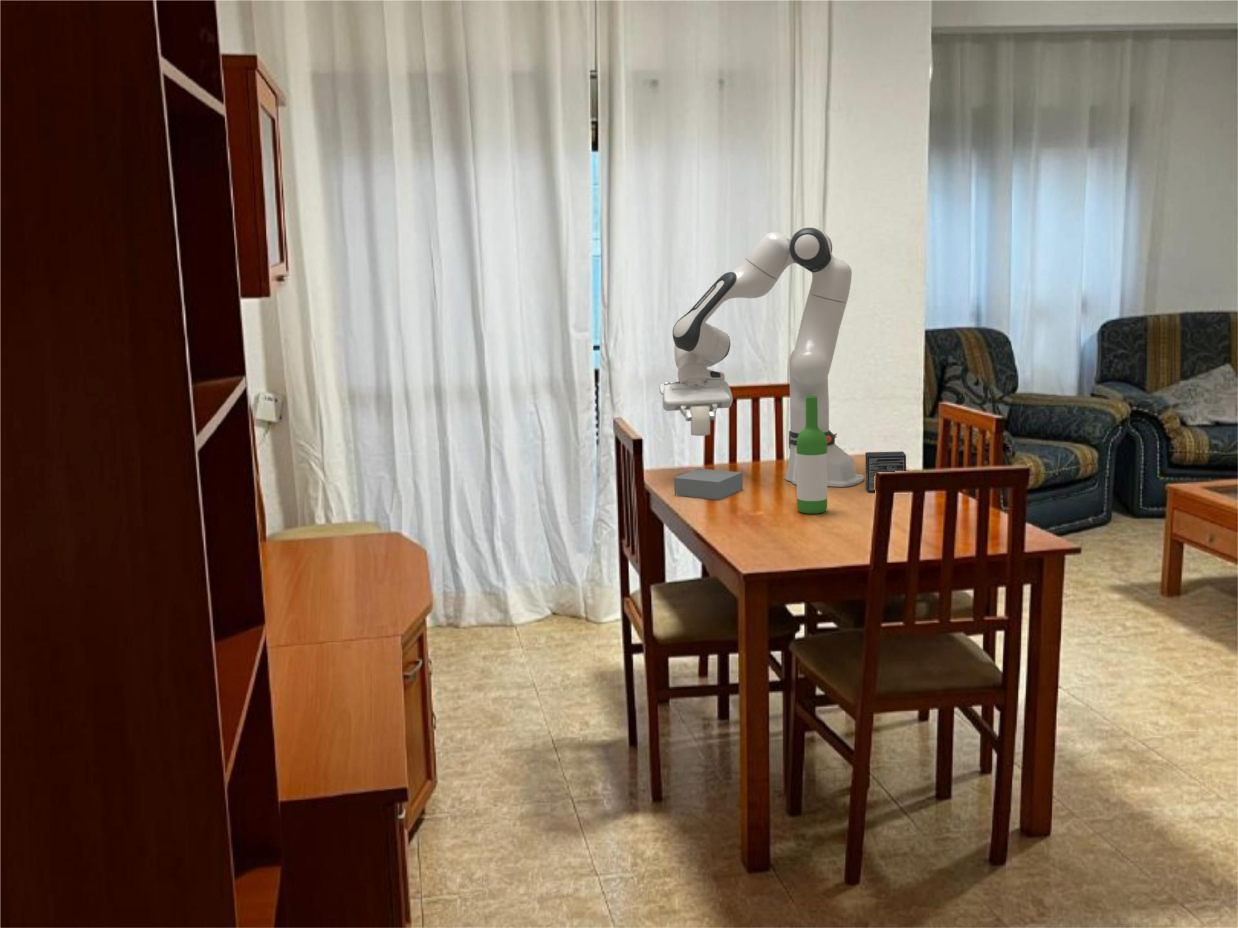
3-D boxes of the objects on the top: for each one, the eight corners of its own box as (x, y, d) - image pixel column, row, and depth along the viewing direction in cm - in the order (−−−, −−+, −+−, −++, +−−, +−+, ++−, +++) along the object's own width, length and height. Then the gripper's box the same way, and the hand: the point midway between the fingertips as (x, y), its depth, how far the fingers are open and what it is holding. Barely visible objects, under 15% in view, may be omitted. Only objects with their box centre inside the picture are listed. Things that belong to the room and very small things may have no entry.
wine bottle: (804, 516, 300) (803, 399, 294) (792, 509, 307) (791, 395, 301) (832, 513, 302) (832, 397, 296) (819, 506, 309) (819, 393, 303)
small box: (903, 487, 328) (903, 450, 326) (906, 492, 322) (907, 454, 320) (864, 488, 329) (865, 451, 327) (867, 493, 323) (867, 455, 321)
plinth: (742, 489, 332) (742, 472, 331) (718, 500, 321) (718, 482, 320) (699, 485, 340) (699, 468, 339) (674, 495, 328) (674, 477, 327)
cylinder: (713, 433, 339) (713, 405, 337) (704, 436, 334) (703, 408, 333) (697, 431, 342) (696, 404, 340) (687, 435, 337) (686, 407, 336)
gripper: (659, 376, 340) (665, 414, 333) (729, 372, 342) (736, 411, 335) (657, 389, 346) (663, 427, 338) (726, 386, 348) (733, 424, 340)
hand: (700, 419), depth 336 cm, fingers closed on cylinder, 5 cm apart
